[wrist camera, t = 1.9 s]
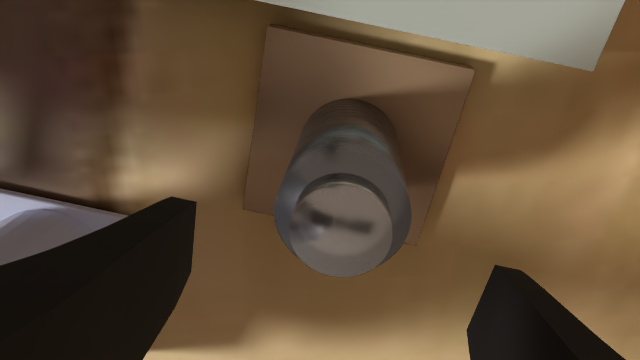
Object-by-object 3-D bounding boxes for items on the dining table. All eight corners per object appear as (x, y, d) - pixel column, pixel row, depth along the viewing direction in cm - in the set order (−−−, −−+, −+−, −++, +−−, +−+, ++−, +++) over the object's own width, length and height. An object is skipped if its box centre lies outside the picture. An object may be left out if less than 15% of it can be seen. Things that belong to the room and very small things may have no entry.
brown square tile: (414, 236, 21) (416, 245, 20) (247, 201, 21) (242, 209, 20) (470, 66, 17) (475, 70, 17) (271, 24, 17) (267, 26, 17)
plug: (383, 198, 19) (393, 306, 13) (293, 178, 19) (258, 277, 13) (409, 109, 18) (434, 185, 11) (309, 88, 18) (279, 152, 11)
